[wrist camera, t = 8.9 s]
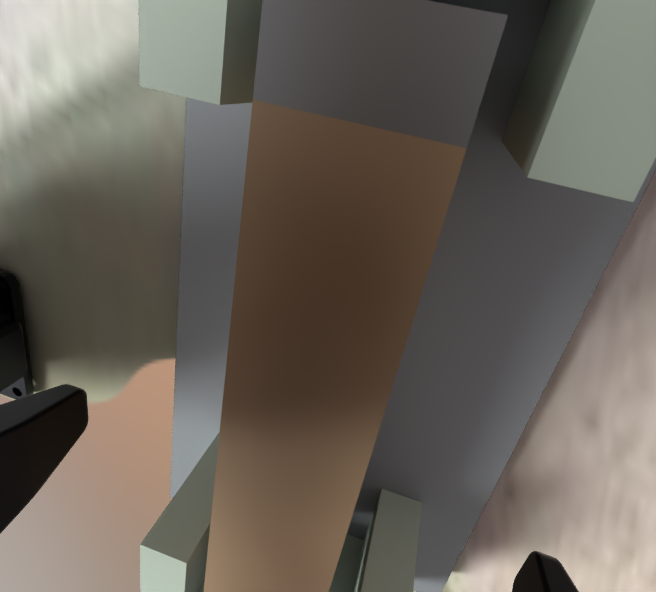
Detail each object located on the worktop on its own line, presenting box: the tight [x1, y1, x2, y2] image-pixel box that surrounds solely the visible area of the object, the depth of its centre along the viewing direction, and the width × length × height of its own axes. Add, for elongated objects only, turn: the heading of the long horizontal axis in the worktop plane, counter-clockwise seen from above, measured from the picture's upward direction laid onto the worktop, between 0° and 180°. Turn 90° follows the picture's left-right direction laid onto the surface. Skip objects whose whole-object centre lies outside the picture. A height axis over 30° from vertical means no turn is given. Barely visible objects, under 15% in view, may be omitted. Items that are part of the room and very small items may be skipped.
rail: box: [204, 0, 508, 592], centre depth 12 cm, size 3×16×6 cm, turn 169°
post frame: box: [139, 0, 656, 592], centre depth 13 cm, size 12×22×6 cm, turn 169°
